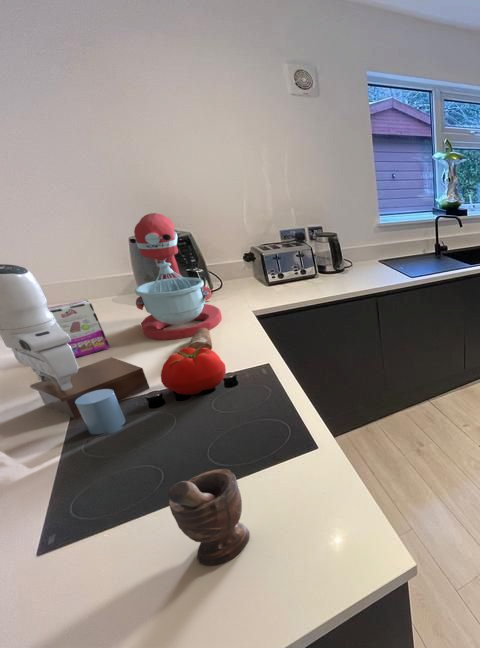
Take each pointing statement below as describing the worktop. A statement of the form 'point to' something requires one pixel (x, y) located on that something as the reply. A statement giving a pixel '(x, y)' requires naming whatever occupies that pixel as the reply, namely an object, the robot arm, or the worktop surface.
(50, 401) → the brown wooden box
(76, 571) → the worktop surface
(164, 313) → the stand mixer
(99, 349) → the candy bar box
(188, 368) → the tomato
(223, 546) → the mortar and pestle
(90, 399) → the canister
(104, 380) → the lid
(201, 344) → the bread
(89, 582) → the worktop surface
